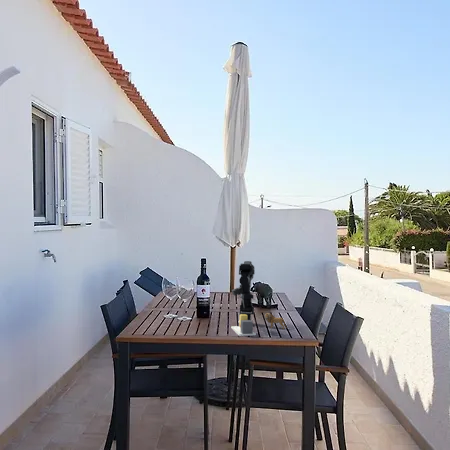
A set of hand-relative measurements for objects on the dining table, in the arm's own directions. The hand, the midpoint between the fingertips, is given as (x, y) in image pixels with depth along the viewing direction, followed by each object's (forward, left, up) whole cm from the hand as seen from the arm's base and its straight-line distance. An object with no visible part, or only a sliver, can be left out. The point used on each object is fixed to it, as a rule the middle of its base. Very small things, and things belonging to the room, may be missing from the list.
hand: (245, 308), depth 298 cm
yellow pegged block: (+12, -4, -9) cm, 16 cm away
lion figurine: (+4, +19, -12) cm, 23 cm away
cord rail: (+12, -4, -12) cm, 17 cm away
